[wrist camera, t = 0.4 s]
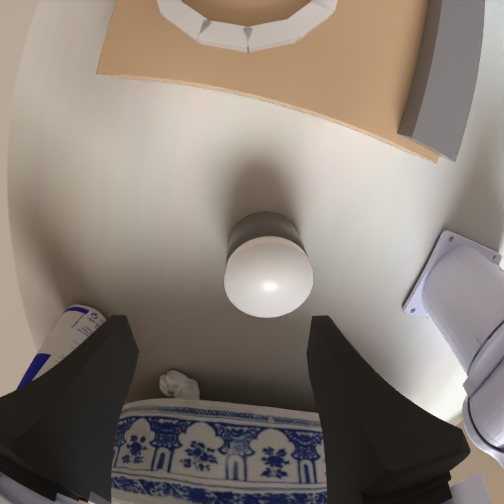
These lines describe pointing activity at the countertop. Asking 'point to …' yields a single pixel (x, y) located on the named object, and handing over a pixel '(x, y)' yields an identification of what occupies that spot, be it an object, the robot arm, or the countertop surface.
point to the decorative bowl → (215, 451)
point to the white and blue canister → (64, 339)
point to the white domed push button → (267, 266)
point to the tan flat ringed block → (316, 59)
